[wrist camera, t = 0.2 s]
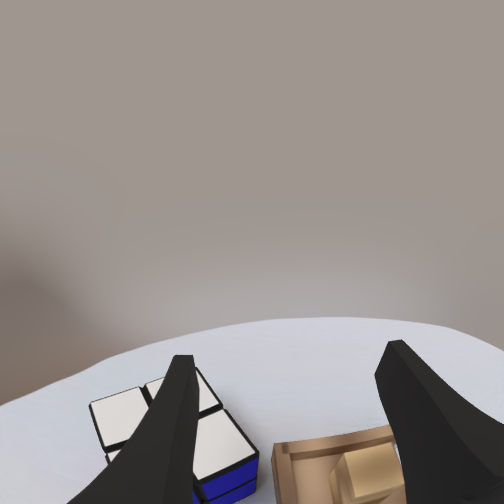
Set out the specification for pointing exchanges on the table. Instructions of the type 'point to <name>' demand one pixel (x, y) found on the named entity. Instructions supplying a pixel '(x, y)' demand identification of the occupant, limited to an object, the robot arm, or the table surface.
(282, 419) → the table surface
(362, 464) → the oak block
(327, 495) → the tray
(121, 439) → the puzzle cube
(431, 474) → the robot arm
